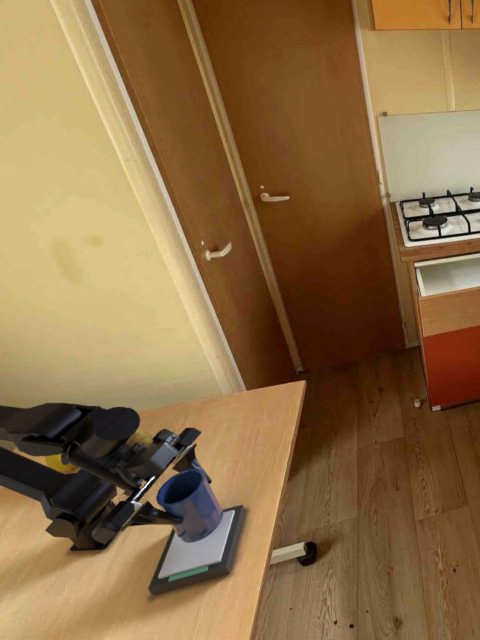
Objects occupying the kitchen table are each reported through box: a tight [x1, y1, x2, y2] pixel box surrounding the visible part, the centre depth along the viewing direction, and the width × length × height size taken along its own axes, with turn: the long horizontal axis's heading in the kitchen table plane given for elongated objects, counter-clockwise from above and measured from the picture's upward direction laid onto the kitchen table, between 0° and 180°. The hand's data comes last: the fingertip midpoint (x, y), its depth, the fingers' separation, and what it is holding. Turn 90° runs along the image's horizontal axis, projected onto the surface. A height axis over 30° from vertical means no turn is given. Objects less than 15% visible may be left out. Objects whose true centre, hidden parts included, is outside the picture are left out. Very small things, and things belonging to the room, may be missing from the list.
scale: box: [147, 504, 247, 597], centre depth 80 cm, size 12×12×3 cm
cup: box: [155, 469, 223, 543], centre depth 77 cm, size 7×7×11 cm
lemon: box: [44, 454, 77, 473], centre depth 94 cm, size 6×6×8 cm
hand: (196, 502), depth 76 cm, fingers closed on cup, 7 cm apart
